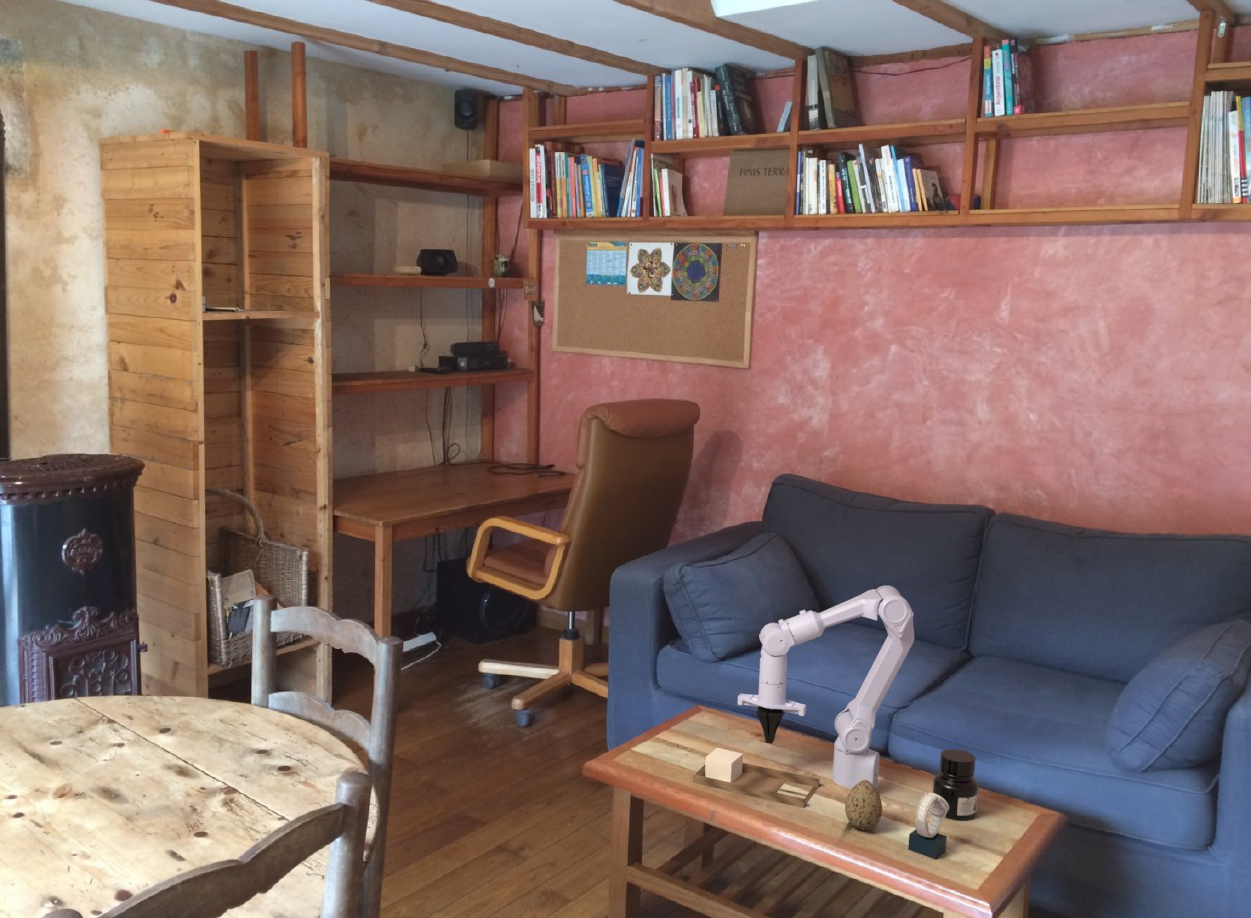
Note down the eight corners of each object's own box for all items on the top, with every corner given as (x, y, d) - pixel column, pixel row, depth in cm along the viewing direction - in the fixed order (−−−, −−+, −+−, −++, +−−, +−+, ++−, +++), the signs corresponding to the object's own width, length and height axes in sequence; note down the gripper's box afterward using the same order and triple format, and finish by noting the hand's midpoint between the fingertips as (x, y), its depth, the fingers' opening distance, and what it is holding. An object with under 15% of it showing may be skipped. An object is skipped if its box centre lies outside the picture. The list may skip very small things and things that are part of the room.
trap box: (818, 792, 233) (819, 778, 233) (803, 814, 222) (803, 800, 222) (712, 769, 243) (712, 756, 242) (692, 789, 232) (692, 776, 232)
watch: (950, 848, 210) (954, 793, 209) (931, 862, 204) (935, 806, 203) (922, 838, 214) (926, 784, 212) (903, 852, 208) (907, 796, 206)
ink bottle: (969, 825, 220) (974, 768, 218) (925, 814, 224) (929, 758, 223) (981, 808, 228) (986, 753, 227) (938, 797, 233) (943, 743, 231)
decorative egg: (888, 829, 217) (891, 781, 216) (866, 840, 212) (869, 791, 211) (858, 816, 222) (861, 769, 221) (836, 826, 217) (839, 778, 216)
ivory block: (742, 773, 237) (743, 753, 237) (730, 783, 232) (731, 762, 232) (716, 767, 240) (717, 747, 240) (704, 776, 235) (705, 756, 235)
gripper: (811, 680, 234) (807, 741, 236) (745, 669, 240) (743, 729, 242) (802, 690, 228) (799, 752, 230) (735, 678, 234) (732, 740, 236)
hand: (769, 741), depth 235 cm, fingers closed
